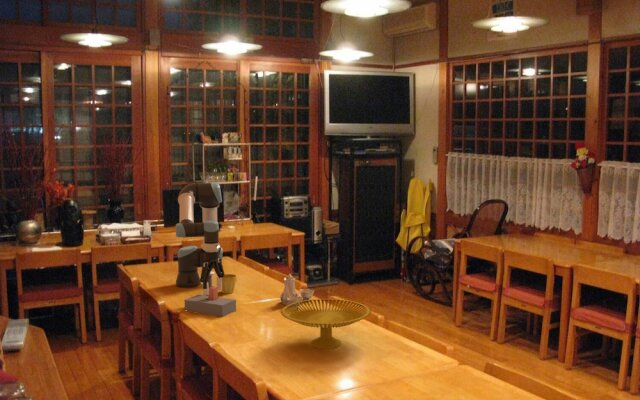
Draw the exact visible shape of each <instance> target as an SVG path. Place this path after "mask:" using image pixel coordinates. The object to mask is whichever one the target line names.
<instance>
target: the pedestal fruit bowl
mask: <svg viewBox="0 0 640 400" xmlns="http://www.w3.org/2000/svg"><path fill="white" fill-rule="evenodd" d="M301 302H302V303H301ZM295 303H296V304H297V305H298V306H299V307H297V306H296V304H295ZM299 303H300V305H299V304H298V302H294V303H291V304H289V305H285V306H283V307H282V308H281V309H280V311H279V312H280V314H281V316H283V318H285V319H287V320H290V321H292V322H295V323H297V324H299V325H301V326H306V327H311V328H317V329H318V328H319V329H320V332H319V337H316V338H314V339H312V340H311V341H310V345H311V346H312V347H315V348H316V349H326V350H327V349H335V348H338V347H340V346H341V345H342V344H343V343H342V341H341V340H340V339H338V338H336V337H333V336H332V335H333V334H332V333H333V332H332V331H333V329H334V328H340V327H346V326H349V325H352V324H355V323H357V322H360V321H362V320H364V319H367V318H369V316H370V315H371V314H372V309H371V308H370V307H369V306H367V305H366V304H364V303H363V304H362V303H360V302H356V301H353V300H348V299H341V298H339V299H338V298H314V299H309V300H304V299H303V300H302V301H300V302H299ZM292 304H293V305H294V306H295V307H296V308H298V309H296V308H295V307H294V306H293V305H292ZM290 305H291V306H292V307H291V306H290ZM289 307H290V308H289ZM293 308H294V309H293Z"/></svg>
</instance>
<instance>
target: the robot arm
mask: <svg viewBox="0 0 640 400" xmlns="http://www.w3.org/2000/svg"><path fill="white" fill-rule="evenodd" d="M177 202H178V204H179V223H176V224H175V236H176V238H202V244H201V245H200V248H198V246H197V245H188V246H184V247H180V248H179V249H178V250H177V271H178V272H177V276H176V280H175V287H177V288H183V289H184V288H196V287H200V286H202V289H203V295H209V286H208V282H207V281H208V278H209V275H210V272H211V271H213V269H214V272H215V274H216V276H217V277H216V287H218V291H222V277H224V276H223V275H224V274H225V270H224V266H223V262H222V261H223V253H224V252H223V247H221V244H220V240H219V236H220V235H219V231H220V229H219V228H220V227H219V222H218V208H219V207H220V204H222V202H223V199H222V191H221V186H220V184H219V183H218V182H202V183H201V182H195V183H194V182H193V183H188V184H187V185H185V186H184V187H183V188H182V189H181V190H180V191H179V193H178V196H177ZM194 204H199V207H200V208H201V209H202V211H201V212H202V222H194V221H195V218H194ZM199 268H201V272H200V274H199ZM205 279H206V280H205Z"/></svg>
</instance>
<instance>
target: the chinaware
mask: <svg viewBox="0 0 640 400" xmlns="http://www.w3.org/2000/svg"><path fill="white" fill-rule="evenodd" d="M283 281H284V287H283V291H282V293H281V294H280V296H279V299H280V301H281V302H282V305H285V306H286V305H289V304H291V303H294V302H298V304H299V305H300V303H299V302H300V301H304V300H311V298H312V297H313V296H314V293H315V289H311V288H305V289H304V288H302V289H299V290H298V291H297V290H296V285H295V282H296V278H295V277H293V276H292V275H291V274H290V273H289V274H288V275H287V276H286V277H284V278H283ZM298 293H299V294H298ZM301 303H302V304H303V302H301ZM295 304H296V303H295ZM292 305H293V304H292ZM290 306H291V305H290ZM293 306H294V305H293ZM296 306H297V307H298V308H300V307H299V306H298V305H297V304H296ZM300 306H301V305H300ZM291 307H292V306H291ZM294 307H295V306H294ZM289 308H290V307H289ZM292 308H293V307H292ZM295 308H296V307H295ZM290 309H291V308H290ZM293 309H294V308H293ZM296 309H297V308H296ZM296 309H294V310H296Z"/></svg>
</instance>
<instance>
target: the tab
mask: <svg viewBox="0 0 640 400" xmlns="http://www.w3.org/2000/svg"><path fill="white" fill-rule="evenodd" d="M218 291H219V290H218V287H217V286H213V285H212V287H209V295H208V300H211V301H214V300H217V299H219V297H218V296H219V295H218Z"/></svg>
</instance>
